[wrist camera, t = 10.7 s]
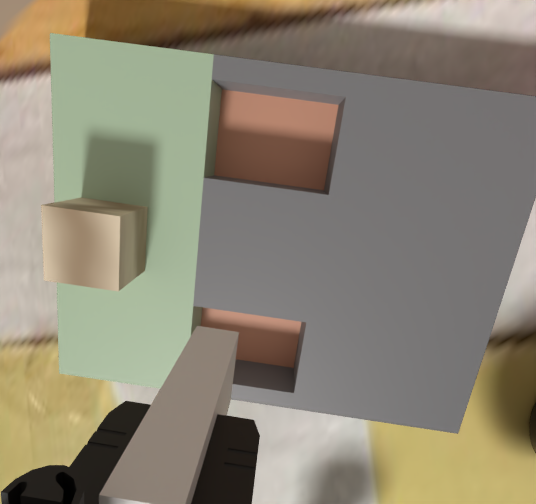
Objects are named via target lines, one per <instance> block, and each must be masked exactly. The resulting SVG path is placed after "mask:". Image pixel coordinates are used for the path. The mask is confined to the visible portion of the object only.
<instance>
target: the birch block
mask: <svg viewBox="0 0 536 504" xmlns="http://www.w3.org/2000/svg"><path fill="white" fill-rule="evenodd" d="M41 212H42V240H43V268H44V281H51V282H58V283H64V284H71V285H78V286H85V287H91V288H98V289H105V290H112V291H120V290H121V289H122V288H124V287H125V286H126V285H127V284H129V283H130V282H131V281H133V280H134V279H135V278H136V277H138V276H139V275H140V274H141V273H143V272H144V271H145V258H146V235H147V212H148V207H145V206H138V205H131V204H124V203H117V202H110V201H103V200H96V199H89V198H82V197H81V198H76V199H71V200H65V201H60V202H55V203H50V204H45V205H41Z"/></svg>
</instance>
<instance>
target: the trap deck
mask: <svg viewBox="0 0 536 504" xmlns="http://www.w3.org/2000/svg"><path fill="white" fill-rule="evenodd" d="M50 55H51V92H52V128H53V164H54V200H55V202H60V201H65V200H71V199H76V198H81V197H82V198H89V199H96V200H103V201H110V202H117V203H124V204H131V205H138V206H145V207H148V212H147V235H146V258H145V271H144V272H143V273H141V274H140V275H139V276H138V277H136V278H135V279H134V280H133V281H131V282H130V283H129V284H127V285H126V286H125V287H124V288H122V289H121V290H120V291H112V290H105V289H98V288H91V287H85V286H78V285H71V284H64V283H58V282H57V308H58V344H59V373H61V374H67V375H74V376H81V377H87V378H94V379H100V380H107V381H114V382H120V383H127V384H133V385H140V386H147V387H153V388H160V389H161V387H162V385H163V384H164V382H165V380H166V378H167V377H168V375H169V373H170V371H171V370H172V368H173V366H174V365H175V363H176V361H177V359H178V358H179V356H180V354H181V353H182V351H183V349H184V347H185V346H186V344H187V342H188V340H189V339H190V337H191V335H192V334H193V332H194V330H195V328H196V327H197V326H202V327H209V328H215V329H222V330H228V331H235V332H239V336H238V344H237V352H236V360H235V369H234V377H233V385H232V393H231V399H232V400H239V401H246V402H252V403H259V404H265V405H272V406H279V407H285V408H292V409H299V410H305V411H312V412H318V413H325V414H332V415H338V416H345V417H351V418H358V419H365V420H371V421H378V422H384V423H391V424H398V425H404V426H411V427H417V428H424V429H431V430H437V431H444V432H450V433H457V434H458V432H459V429H460V426H461V423H462V420H463V417H464V414H465V411H466V408H467V405H468V402H469V398H470V395H471V392H472V389H473V386H474V383H475V380H476V377H477V374H478V371H479V368H480V365H481V362H482V359H483V356H484V353H485V350H486V347H487V344H488V341H489V338H490V335H491V331H492V328H493V325H494V322H495V319H496V316H497V313H498V310H499V307H500V304H501V301H502V298H503V295H504V292H505V289H506V286H507V283H508V280H509V277H510V274H511V271H512V268H513V265H514V261H515V258H516V255H517V252H518V249H519V246H520V243H521V240H522V237H523V234H524V231H525V228H526V225H527V222H528V219H529V216H530V213H531V210H532V207H533V204H534V201H535V198H536V96H530V95H522V94H514V93H507V92H499V91H491V90H484V89H476V88H468V87H461V86H453V85H445V84H438V83H430V82H422V81H414V80H407V79H399V78H391V77H384V76H376V75H368V74H361V73H353V72H345V71H338V70H330V69H322V68H315V67H307V66H299V65H291V64H284V63H276V62H268V61H261V60H253V59H245V58H238V57H230V56H222V55H215V54H207V53H199V52H192V51H184V50H176V49H169V48H161V47H153V46H145V45H138V44H130V43H122V42H115V41H107V40H99V39H92V38H84V37H76V36H69V35H61V34H53V33H50Z"/></svg>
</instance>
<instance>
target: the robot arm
mask: <svg viewBox="0 0 536 504" xmlns="http://www.w3.org/2000/svg"><path fill="white" fill-rule="evenodd" d="M238 336H239V332H235V331H228V330H222V329H215V328H209V327H202V326H197V327H196V328H195V330H194V332H193V334H192V335H191V337H190V339H189V340H188V342H187V344H186V346H185V347H184V349H183V351H182V353H181V354H180V356H179V358H178V359H177V361H176V363H175V365H174V366H173V368H172V370H171V371H170V373H169V375H168V377H167V378H166V380H165V382H164V384H163V385H162V387H161V389H160V390H159V392H158V394H157V396H156V397H155V399H154V401H153V403H152V404H151V405H148V404H142V403H136V402H130V401H125V402H124V403H122V404H121V405H119V406H118V407H116V408H115V409H114V410H112V411H111V412H109V413H108V415H107V416H106V417H105V419H104V420H103V422H102V423H101V424H100V426H99V427H98V429H97V432H96V431H95V433H94V434H93V435H92V437H91V438H90V439H89V441H88V444H87V445H85V446H84V448H83V449H82V450H81V452H80V453H79V454H78V456H77V457H76V459H75V460H74V461H73V463H72V464H71V465H70V467H67V466H65V465H49V466H45V467H42V468H38V469H34V470H31V471H30V472H28V473H26V474H24V475H22V476H20V477H19V478H17V479H15V480H14V481H13V482H12V483H10V484H9V485H8V486H7V487H6V488H5V489H4V490H3V491H1V500H2V504H252V496H253V487H254V479H255V470H256V462H257V454H258V445H259V437H260V435H259V433H258V430H257V427H256V425H255V422H254V420H251V419H244V418H238V417H232V416H226V415H227V411H228V408H229V404H230V400H231V393H232V385H233V377H234V369H235V360H236V352H237V344H238ZM530 439H531V443H532V446H533V449H534V451H535V453H536V403H535V406H534V408H533V411H532V414H531V419H530Z"/></svg>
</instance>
